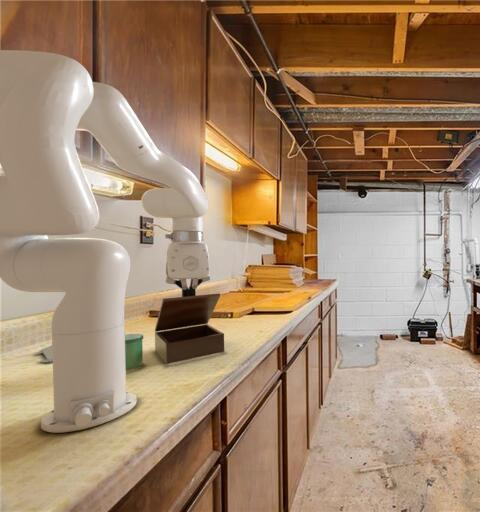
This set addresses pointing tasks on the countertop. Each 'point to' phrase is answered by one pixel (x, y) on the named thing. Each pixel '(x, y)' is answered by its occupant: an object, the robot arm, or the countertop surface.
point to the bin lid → (186, 311)
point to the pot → (133, 350)
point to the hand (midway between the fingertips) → (188, 302)
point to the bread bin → (188, 343)
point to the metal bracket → (46, 354)
